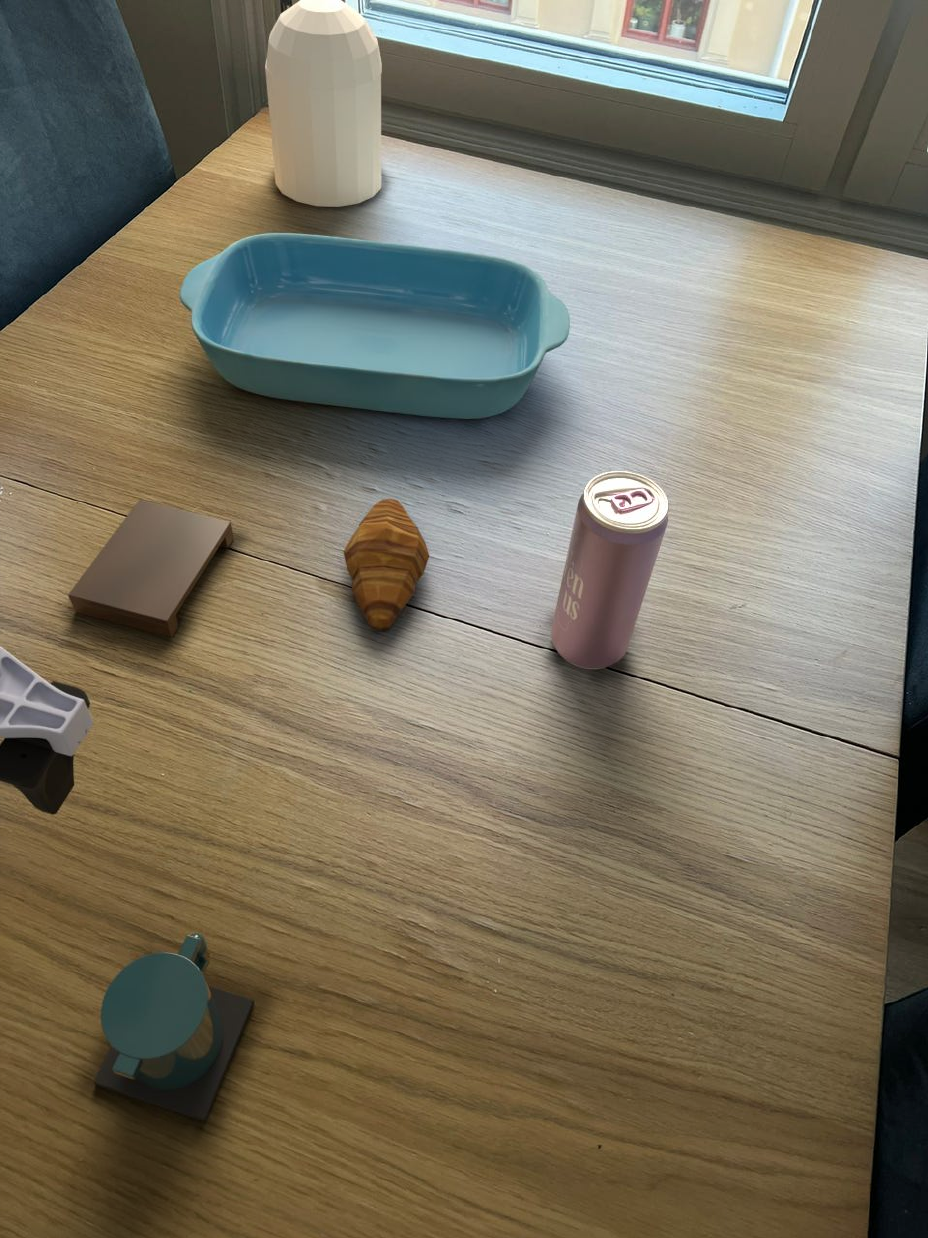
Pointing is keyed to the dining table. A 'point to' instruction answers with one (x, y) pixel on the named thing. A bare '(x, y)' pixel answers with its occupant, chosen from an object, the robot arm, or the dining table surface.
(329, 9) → the container
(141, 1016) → the teal tabbed cylinder
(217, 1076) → the coaster
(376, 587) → the croissant
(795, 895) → the dining table surface
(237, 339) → the casserole dish
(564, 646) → the beverage can
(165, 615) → the plate
